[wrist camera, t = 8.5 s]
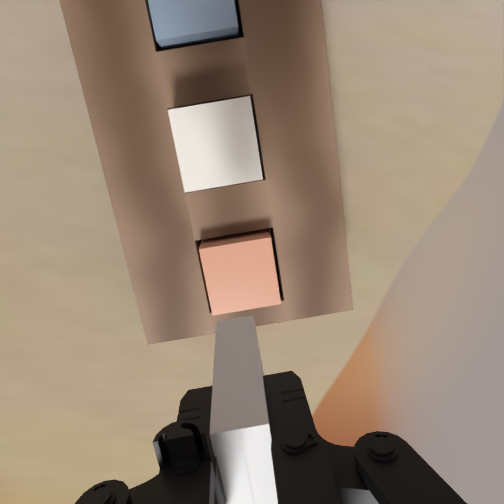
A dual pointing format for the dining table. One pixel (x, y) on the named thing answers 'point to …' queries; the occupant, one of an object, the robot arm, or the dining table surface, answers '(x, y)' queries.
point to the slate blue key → (192, 22)
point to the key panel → (225, 197)
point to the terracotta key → (240, 271)
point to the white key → (216, 144)
